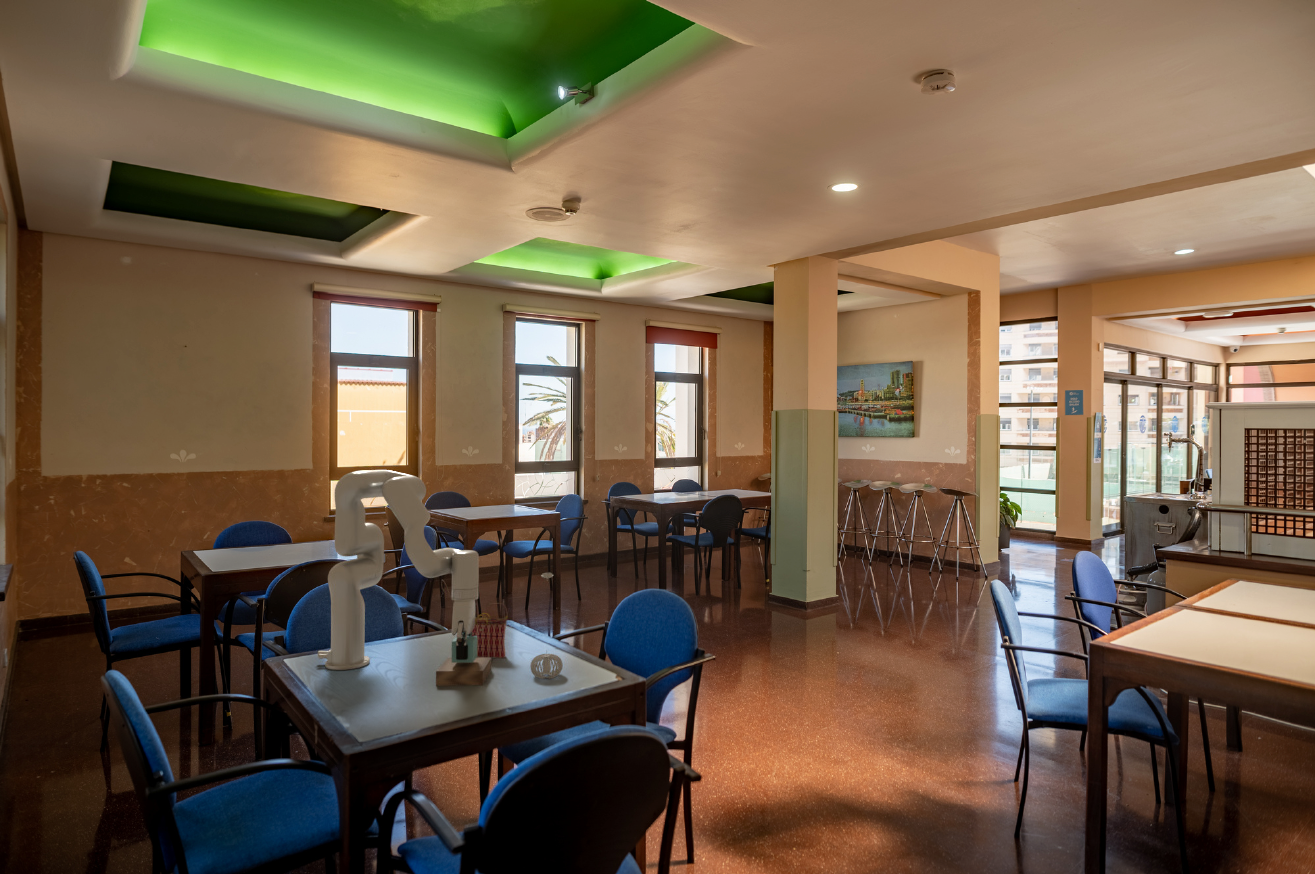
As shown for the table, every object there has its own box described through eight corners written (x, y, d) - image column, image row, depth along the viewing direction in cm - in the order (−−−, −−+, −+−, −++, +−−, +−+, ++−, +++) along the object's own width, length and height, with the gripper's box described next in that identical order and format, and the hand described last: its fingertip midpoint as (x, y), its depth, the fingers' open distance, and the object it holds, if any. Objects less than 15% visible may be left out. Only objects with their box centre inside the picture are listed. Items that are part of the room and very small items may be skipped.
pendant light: (568, 673, 216) (569, 572, 216) (551, 683, 208) (551, 577, 208) (542, 669, 220) (542, 569, 220) (523, 678, 212) (524, 574, 212)
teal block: (451, 662, 209) (451, 641, 209) (456, 656, 215) (456, 635, 215) (472, 662, 209) (472, 641, 209) (477, 656, 215) (477, 635, 215)
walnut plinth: (435, 685, 205) (436, 671, 205) (447, 671, 218) (447, 657, 218) (482, 684, 206) (482, 670, 206) (491, 670, 219) (491, 657, 219)
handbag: (446, 653, 236) (446, 576, 237) (509, 655, 234) (509, 577, 235) (437, 660, 229) (438, 580, 229) (502, 662, 227) (502, 581, 227)
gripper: (458, 587, 221) (458, 647, 220) (444, 599, 203) (443, 664, 203) (483, 587, 221) (483, 647, 221) (471, 599, 204) (471, 664, 203)
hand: (464, 655), depth 212 cm, fingers closed on teal block, 5 cm apart
